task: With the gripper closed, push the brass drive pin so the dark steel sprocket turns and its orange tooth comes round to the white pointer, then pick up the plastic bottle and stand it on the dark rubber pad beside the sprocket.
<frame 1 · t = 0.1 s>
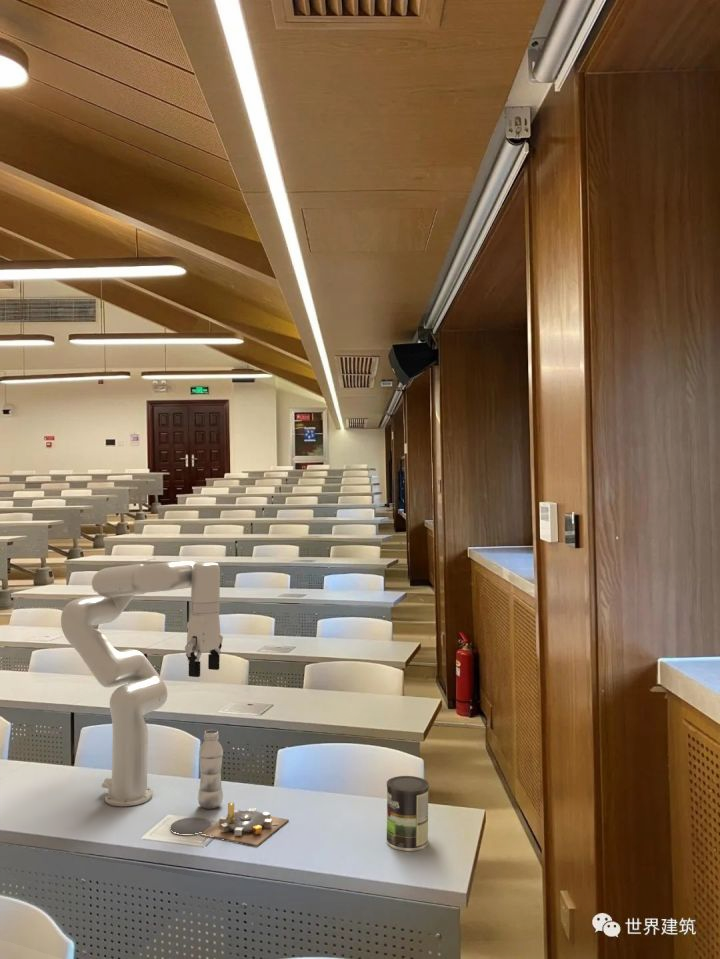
hand: (204, 672, 197), 37 cm above the table, tool pointing down, fingers open, 9 cm apart
plastic bottle: (210, 807, 199), on the table
coffee can: (407, 842, 179), on the table
base plate: (245, 828, 186), on the table
pad: (190, 827, 186), on the table
sprocket: (245, 812, 186), point 4 cm above the table, hinge at 0.0°
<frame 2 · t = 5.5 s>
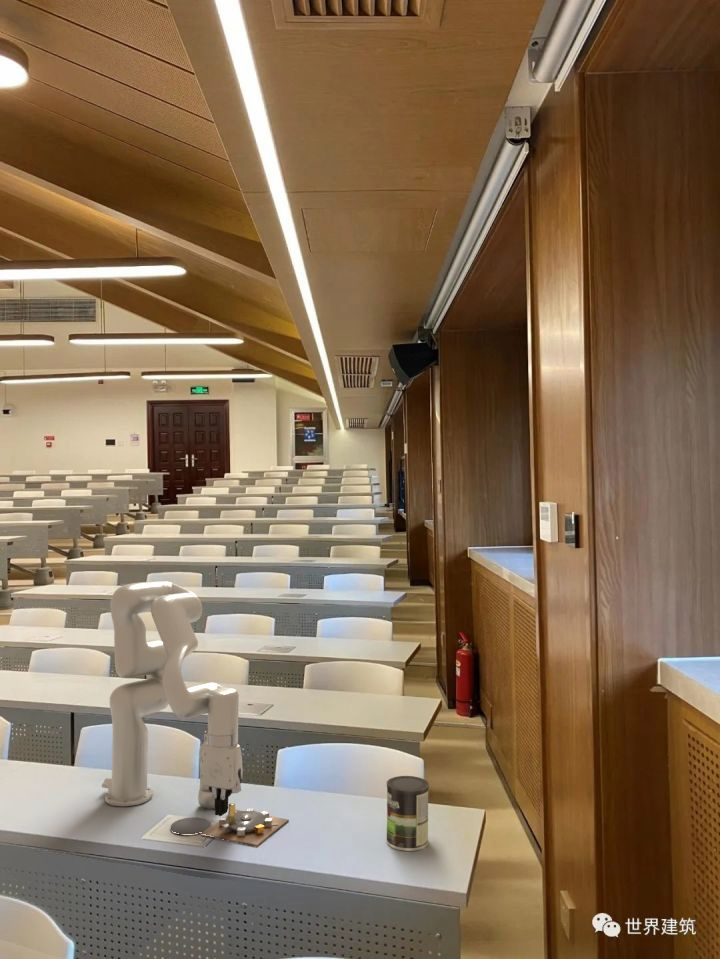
hand: (221, 813, 184), 4 cm above the table, tool pointing down, fingers closed
sprocket: (245, 812, 186), point 4 cm above the table, hinge at 6.1°, touching gripper
everything else where it was.
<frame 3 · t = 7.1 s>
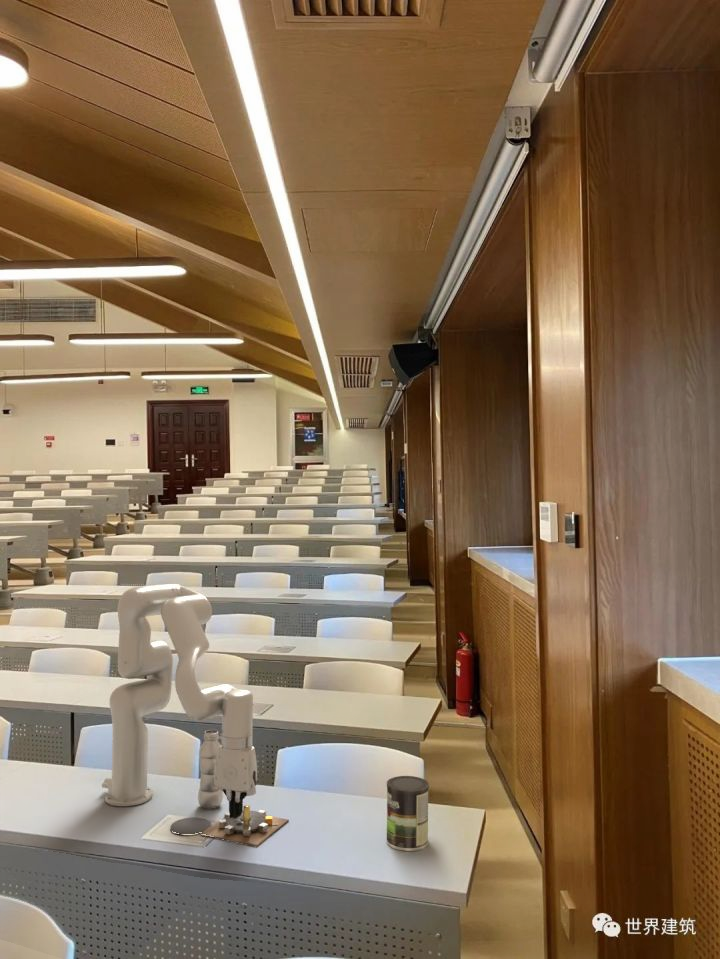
hand: (235, 816, 183), 4 cm above the table, tool pointing down, fingers closed
sprocket: (245, 812, 186), point 4 cm above the table, hinge at 63.2°, touching gripper
everything else where it was.
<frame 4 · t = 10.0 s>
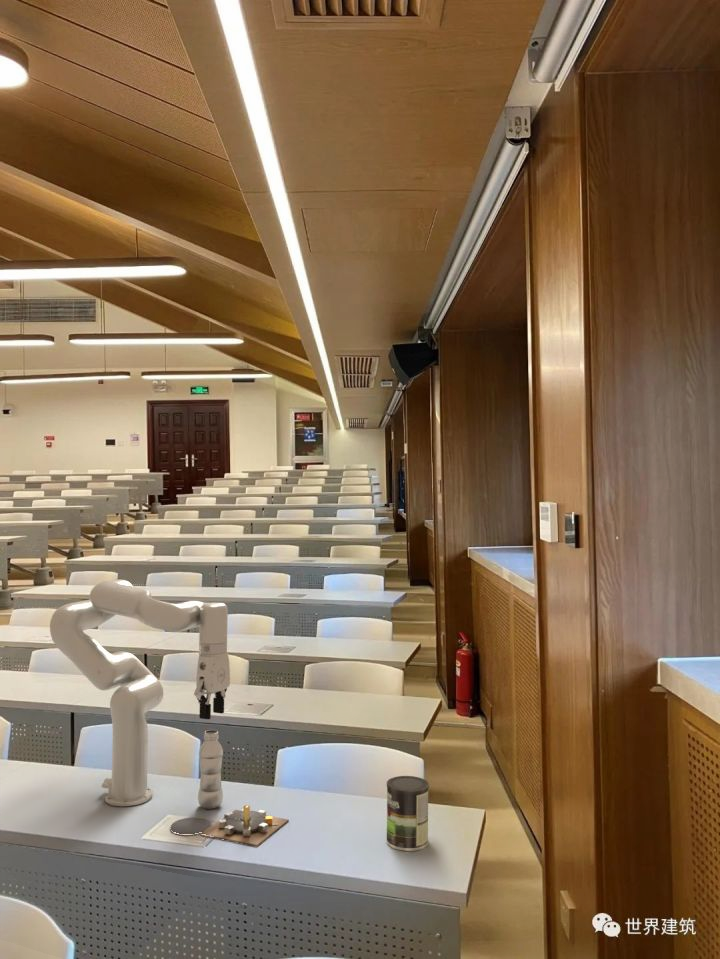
hand: (211, 715, 201), 25 cm above the table, tool pointing down, fingers open, 5 cm apart
sprocket: (245, 812, 186), point 4 cm above the table, hinge at 63.3°
everything else where it was.
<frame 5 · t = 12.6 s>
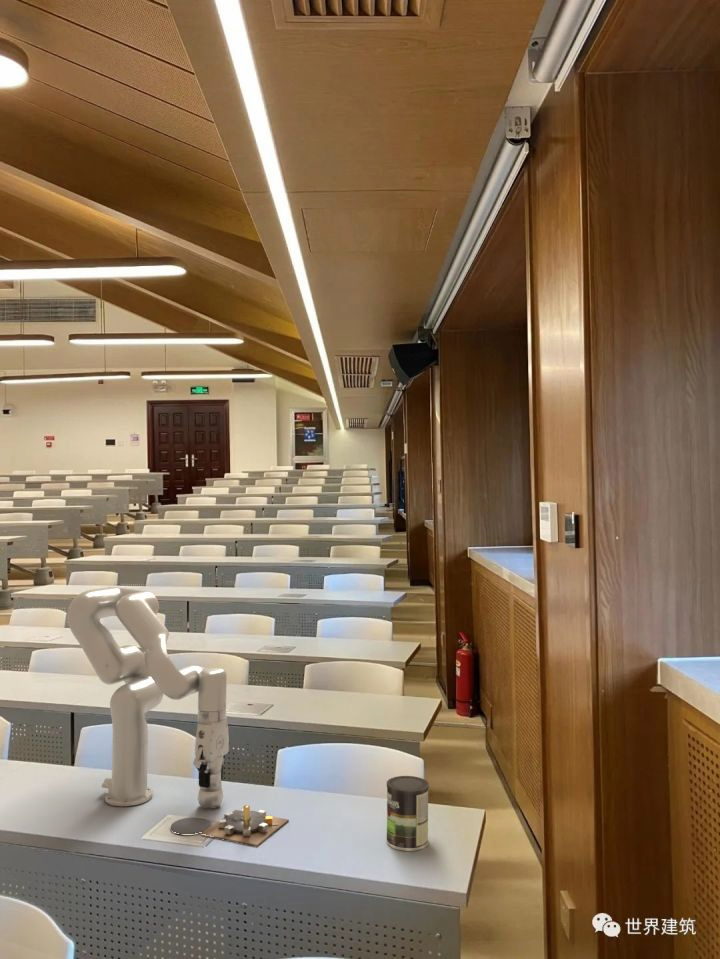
hand: (210, 782, 200), 7 cm above the table, tool pointing down, fingers closed on plastic bottle, 5 cm apart
plastic bottle: (210, 807, 199), on the table, touching gripper
everything else where it was.
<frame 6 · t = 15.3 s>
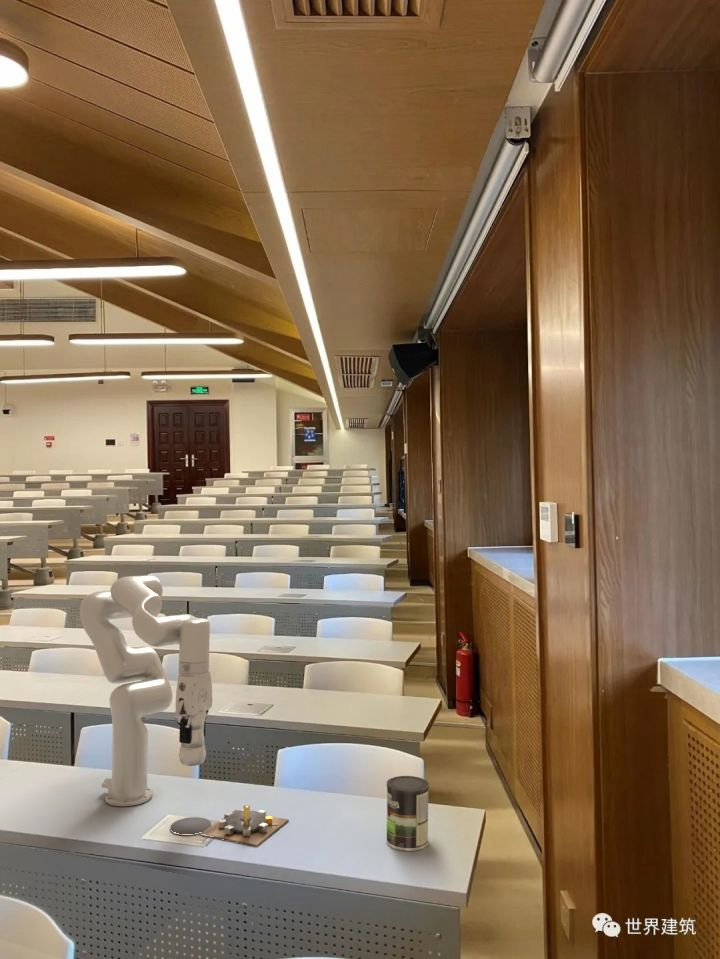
hand: (192, 738, 187), 22 cm above the table, tool pointing down, fingers closed on plastic bottle, 5 cm apart
plastic bottle: (192, 765, 187), point 15 cm above the table, touching gripper
everything else where it was.
when the fingers open (8 cm above the table, at t = 18.1 s): plastic bottle drops 1 cm, resting on pad.
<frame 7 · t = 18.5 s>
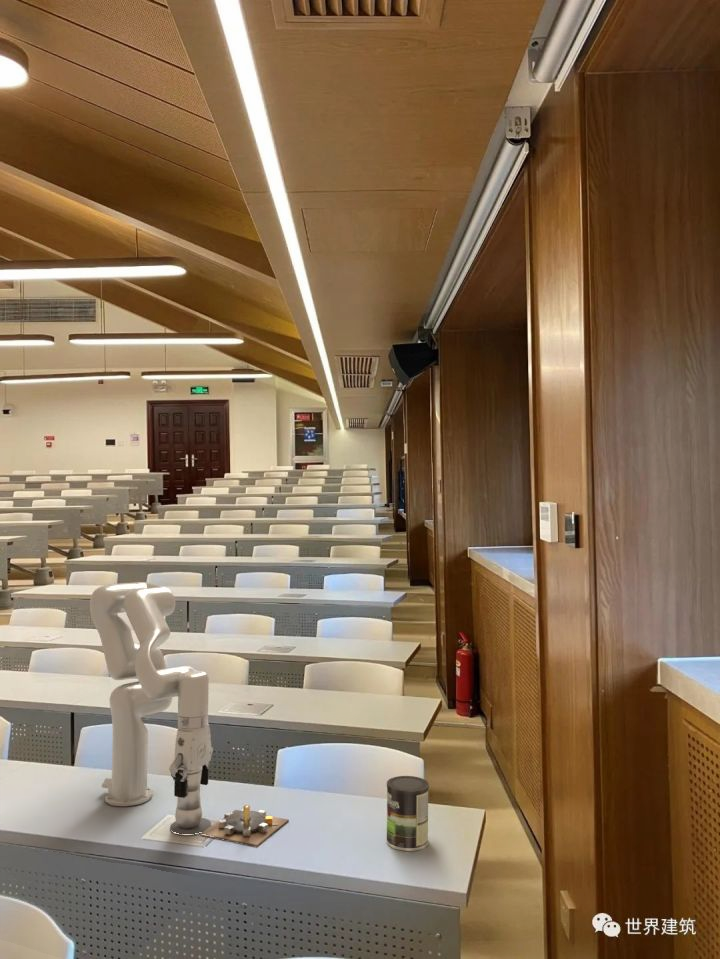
hand: (191, 790, 187), 9 cm above the table, tool pointing down, fingers open, 9 cm apart
plastic bottle: (188, 827, 185), resting on pad
everything else where it was.
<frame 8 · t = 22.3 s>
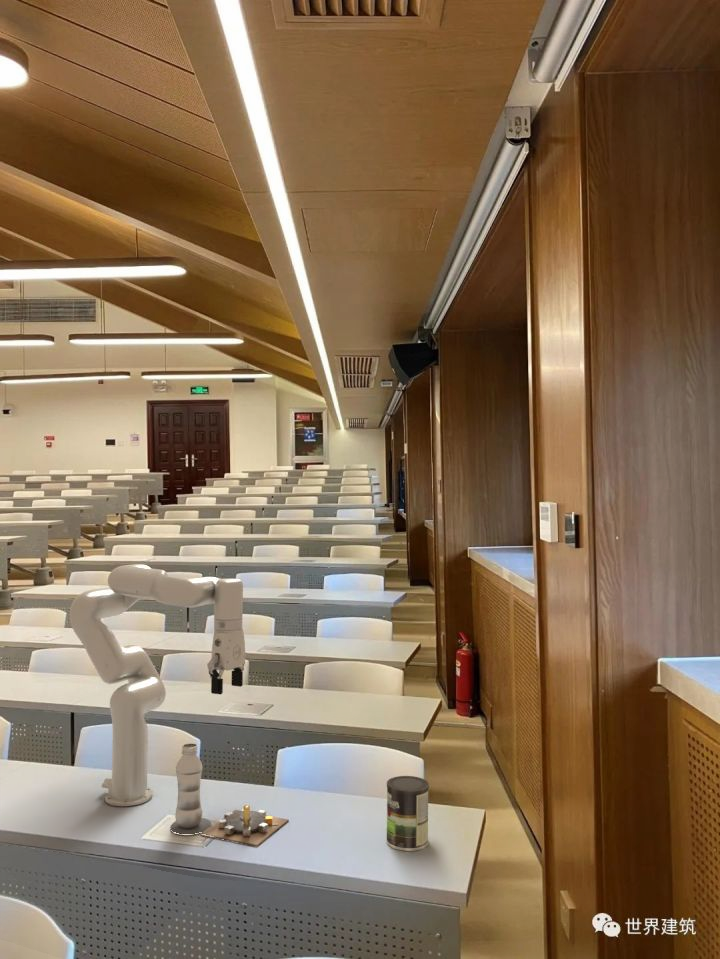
hand: (227, 689, 197), 32 cm above the table, tool pointing down, fingers open, 9 cm apart
nothing on the table moved.
at the end: sprocket at +63° (first picture: +0°); plastic bottle inside the target area on the pad (0.8 cm from its centre), point 0.3 cm above the pad's base; plastic bottle tilted 0° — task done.
